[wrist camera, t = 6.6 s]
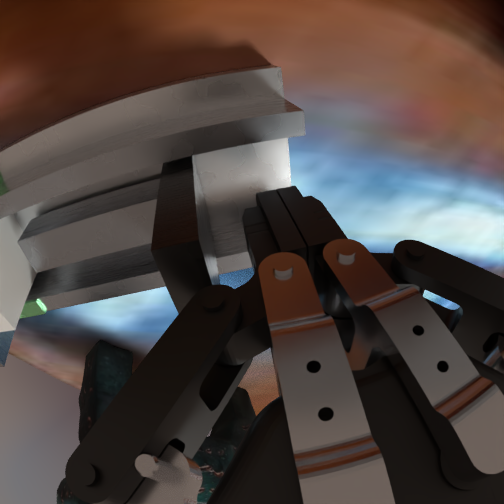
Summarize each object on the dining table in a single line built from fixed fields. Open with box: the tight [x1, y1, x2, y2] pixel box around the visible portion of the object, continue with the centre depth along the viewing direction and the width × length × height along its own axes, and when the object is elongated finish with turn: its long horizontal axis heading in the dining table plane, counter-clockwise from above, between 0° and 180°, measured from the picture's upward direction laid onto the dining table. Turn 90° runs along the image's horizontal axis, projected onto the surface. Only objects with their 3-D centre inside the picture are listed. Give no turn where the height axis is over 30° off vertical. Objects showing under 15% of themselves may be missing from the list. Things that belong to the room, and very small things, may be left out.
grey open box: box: [0, 65, 305, 367], centre depth 12 cm, size 20×10×6 cm, turn 97°
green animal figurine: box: [57, 340, 256, 504], centre depth 19 cm, size 20×6×20 cm, turn 44°
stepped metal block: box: [17, 155, 220, 313], centre depth 11 cm, size 9×4×7 cm, turn 97°
